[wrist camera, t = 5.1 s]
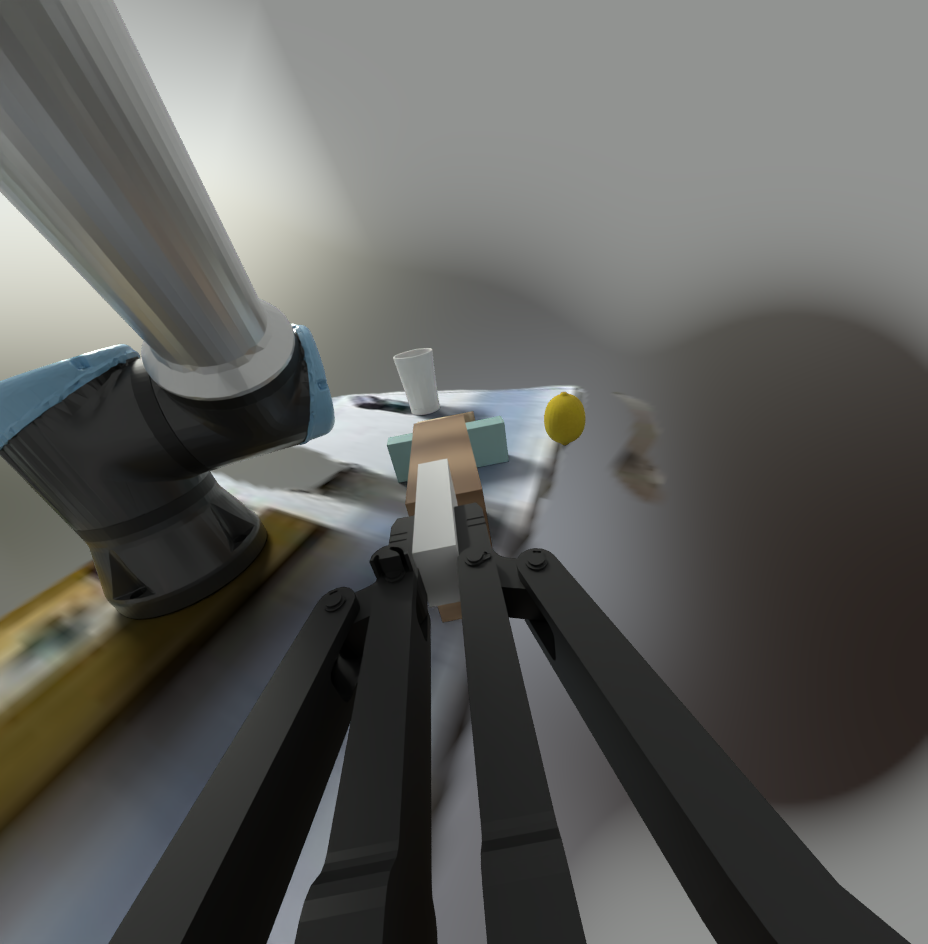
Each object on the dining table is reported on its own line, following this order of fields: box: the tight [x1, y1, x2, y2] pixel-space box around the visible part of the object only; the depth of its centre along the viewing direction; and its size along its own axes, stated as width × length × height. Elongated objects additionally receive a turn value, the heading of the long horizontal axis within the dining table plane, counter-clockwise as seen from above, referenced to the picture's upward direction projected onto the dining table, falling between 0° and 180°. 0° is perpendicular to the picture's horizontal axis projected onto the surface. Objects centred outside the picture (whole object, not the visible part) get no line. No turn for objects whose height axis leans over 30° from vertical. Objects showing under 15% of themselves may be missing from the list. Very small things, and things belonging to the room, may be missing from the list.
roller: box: [418, 411, 475, 423], centre depth 61 cm, size 10×3×3 cm, turn 95°
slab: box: [405, 414, 492, 622], centre depth 31 cm, size 14×5×12 cm, turn 5°
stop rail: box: [387, 416, 509, 483], centre depth 48 cm, size 2×16×6 cm, turn 95°
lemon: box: [544, 392, 585, 445], centre depth 48 cm, size 6×6×8 cm
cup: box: [393, 348, 440, 415], centre depth 71 cm, size 8×8×12 cm
